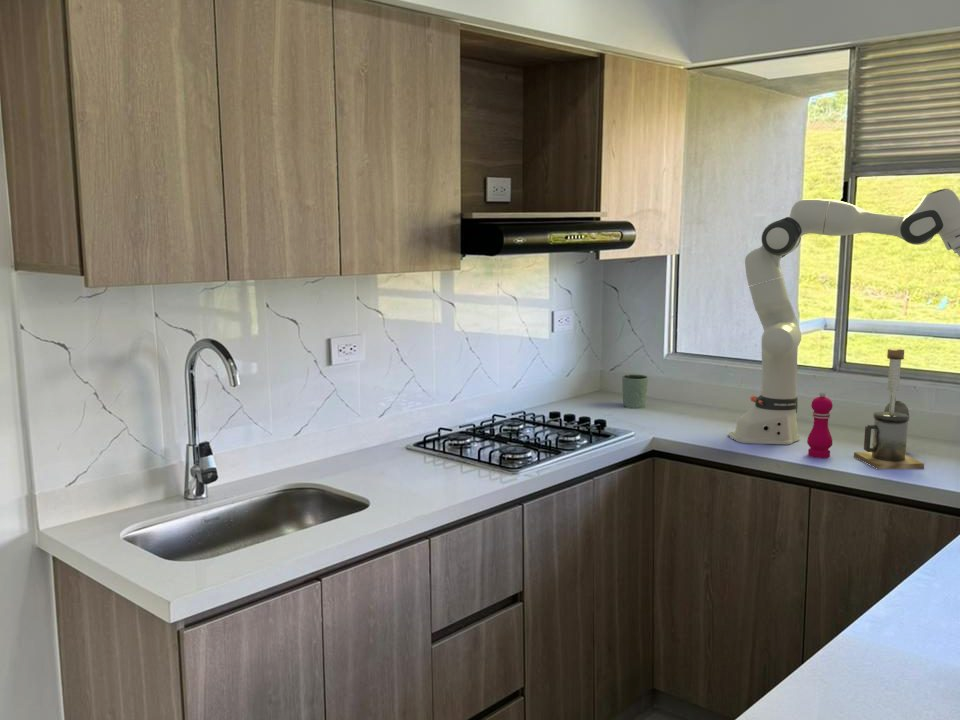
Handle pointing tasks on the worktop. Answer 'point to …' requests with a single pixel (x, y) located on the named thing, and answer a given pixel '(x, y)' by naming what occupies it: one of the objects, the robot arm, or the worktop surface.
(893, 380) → the plunger
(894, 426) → the press
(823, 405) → the pepper mill
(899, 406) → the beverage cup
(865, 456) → the plate
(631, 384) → the green cup
